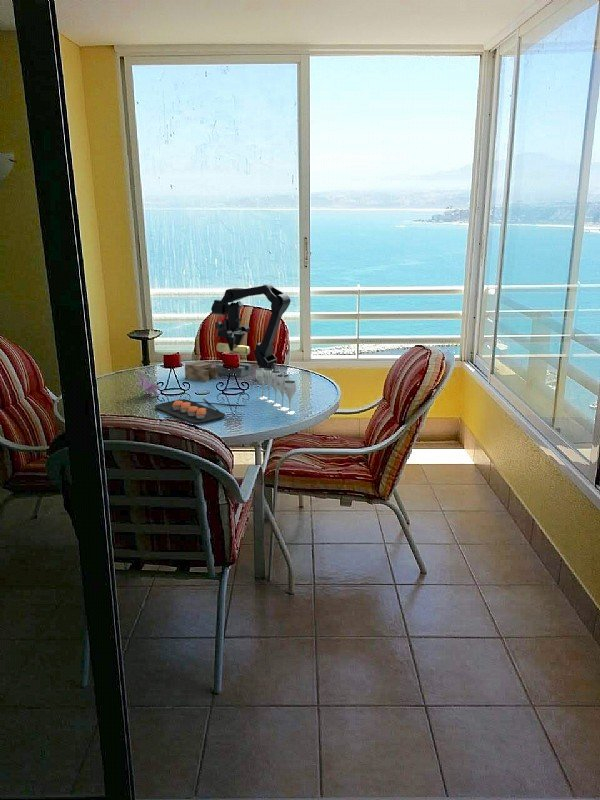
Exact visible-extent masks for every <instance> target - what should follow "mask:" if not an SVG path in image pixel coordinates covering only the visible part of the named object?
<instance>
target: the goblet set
mask: <svg viewBox="0 0 600 800" xmlns="http://www.w3.org/2000/svg"><path fill="white" fill-rule="evenodd" d="M254 374H255V376H254V377H255V379H256V381H258V382H259V384H260V385H261V395H260V397H259V396H257V397H258V399H257V400H263V401H264V403H266V402H268V404H269V403H270V406H271V407H276V410H278V411H283V414H285V415H295V414H296V413H295V412H296V411H293V410H291V403H292V398H293V396H294V395H295V393H296V391H297V382H296V381H295V380H290V375H289V374H285V373H281V372H280V371H278V370H275V371H273V369H268V368H259V367H258V368H256V370H255V373H254ZM265 384H266V385H267V390H268V391H267V392H268V395H270V392H271V391H270V390H271V389H270V388H271V386H272V387H273V390H274V395H275V396H274V397H275V398H274V399H275V400H272V399H269V396H266V397H265V395H264V386H265ZM278 391H279V393H280V395H281V404H280V403H277V392H278ZM285 395H286V397H287V398H288V403H289V405H288V406H289V407H287V406H284V396H285ZM267 398H268V399H267ZM271 402H272V403H271ZM294 413H295V414H294Z"/></svg>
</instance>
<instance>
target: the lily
mask: <svg viewBox="0 0 600 800" xmlns="http://www.w3.org/2000/svg"><path fill="white" fill-rule="evenodd" d="M134 374H135V375H136V377H137V378H138V380H139V381H137V382H135V384H136V385H138V386H140V387H142V389H143V390H142V393H141V394H140V397H139V398H140V400H142V396H143V394H144V392H145V391H146V392H147V393H148V394H151V393H153V394H155V395H156V396H158V397H160V395H159V393H158V392H157V391H156V390H160V389H162V387H161V386H159V385H158V384H156V383H154V382H151V381H150V379H149V378H148V377H145V378H144V377H143V376H141V374H138V373H136V372H135V373H134Z"/></svg>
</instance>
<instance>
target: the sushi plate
mask: <svg viewBox="0 0 600 800" xmlns="http://www.w3.org/2000/svg"><path fill="white" fill-rule="evenodd" d="M202 400H203V401H204V402H203V401H194V400H193V401H192V400H189V399H186V398H185V399H184V398H183V399H181V398H180V399H176V400H169V401H165V402H162V403H158V404H155V405H154V407H155V409H157V410H160V411H162V412H164V413H167V414H169V415H172V416H174V417H176V418H179V419H182V420H183V421H186V422H189V423H192V424H201V423H202V424H203V423H207V422H210V421H214V420H219V419H222V418H224V417H226V414H225V413H224V412H221V411H220V410H219V409H217V408H216V407H215V406H213V405H219V406H228V407H247V406H246V405H245V404H233V403H232V404H231V403H217V402H216V403H215V402H209V401H208V400H206V399H205V398H202ZM204 404H207V405H209V406H211V407H208V406H207V405H204Z"/></svg>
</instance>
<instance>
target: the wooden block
mask: <svg viewBox="0 0 600 800" xmlns="http://www.w3.org/2000/svg"><path fill="white" fill-rule="evenodd" d="M218 375H219V374H217V367H216V366H213V363H211V362H206V361H205V362H204V361H198V360H194V361H192V362H188V363H184V378H185V379H186V378H187V380H192V381H193V380H194V381H199V382H205V383H208V382H209V381H210V379H214V380H215V379H219V377H218Z"/></svg>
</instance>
